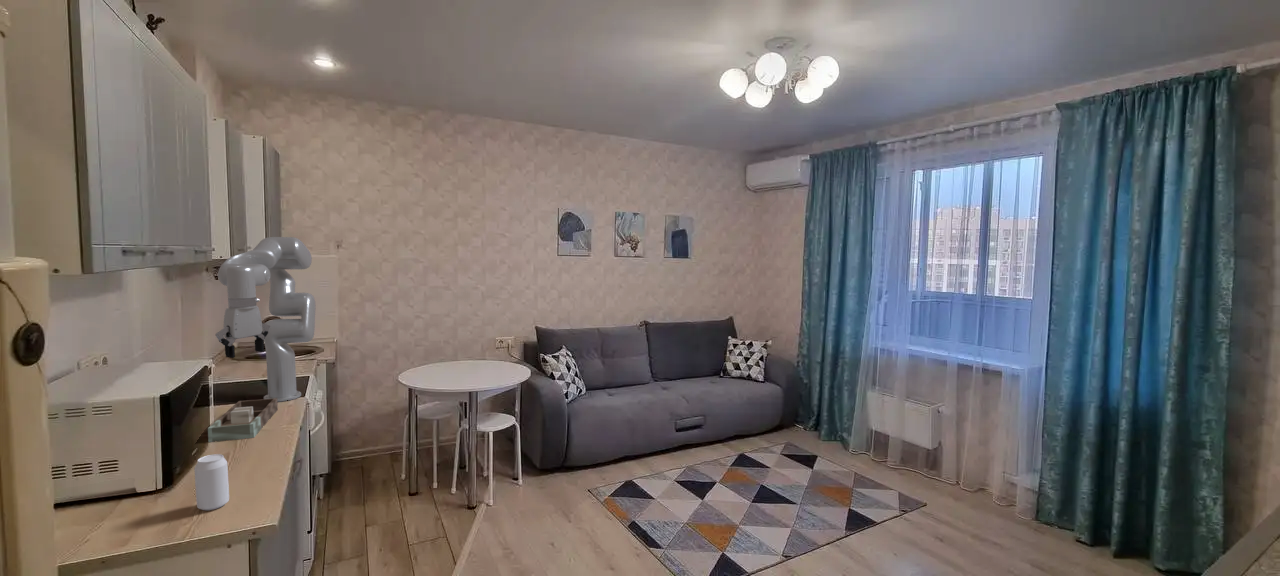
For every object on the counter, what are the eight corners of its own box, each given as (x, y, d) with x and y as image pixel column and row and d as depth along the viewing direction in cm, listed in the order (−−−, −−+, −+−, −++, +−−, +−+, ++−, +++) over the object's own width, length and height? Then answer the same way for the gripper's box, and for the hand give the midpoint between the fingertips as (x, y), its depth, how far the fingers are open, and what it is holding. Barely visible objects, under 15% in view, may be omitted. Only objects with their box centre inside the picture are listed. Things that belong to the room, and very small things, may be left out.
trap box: (239, 413, 199) (238, 401, 199) (277, 409, 204) (277, 398, 203) (208, 442, 172) (207, 428, 171) (254, 437, 176) (253, 424, 175)
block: (236, 419, 186) (235, 407, 185) (253, 417, 187) (252, 406, 187) (231, 424, 181) (230, 412, 181) (249, 422, 183) (248, 410, 182)
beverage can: (222, 497, 136) (219, 451, 135) (234, 504, 133) (231, 456, 132) (192, 508, 131) (189, 459, 130) (204, 515, 128) (201, 465, 126)
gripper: (259, 299, 189) (262, 348, 191) (206, 305, 173) (209, 358, 175) (275, 301, 187) (278, 350, 189) (223, 307, 171) (226, 360, 172)
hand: (245, 354), depth 182 cm, fingers open, 9 cm apart
